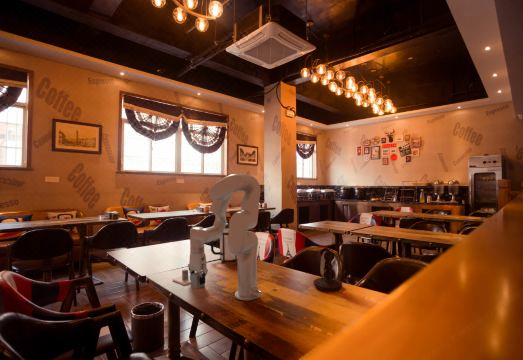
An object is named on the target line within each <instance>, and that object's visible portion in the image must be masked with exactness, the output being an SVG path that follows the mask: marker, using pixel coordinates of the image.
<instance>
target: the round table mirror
mask: <svg viewBox="0 0 523 360" xmlns="http://www.w3.org/2000/svg"><path fill="white" fill-rule="evenodd" d="M319 255H320V256H321V258H320V266H319V267H320V268H319V269H320V275H321V276H322V277H321V276H320V277H317V278H316V279H314V280H313V286H315V287H316V288H318V289H320V292H323V290H327V291H334V290H335V291H336V290H339V291H341V290H342V288H343V282H342V281H341V280H340V279H337V278H335V276H336V272H335V270H333V269H332V268H333V265H332V264H333V263H332V262H333V261H334V259H335V253H334V252H333V251H332V250H330V249H329V248H328V247H324V248H322V249H321V250H320V251H319Z"/></svg>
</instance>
